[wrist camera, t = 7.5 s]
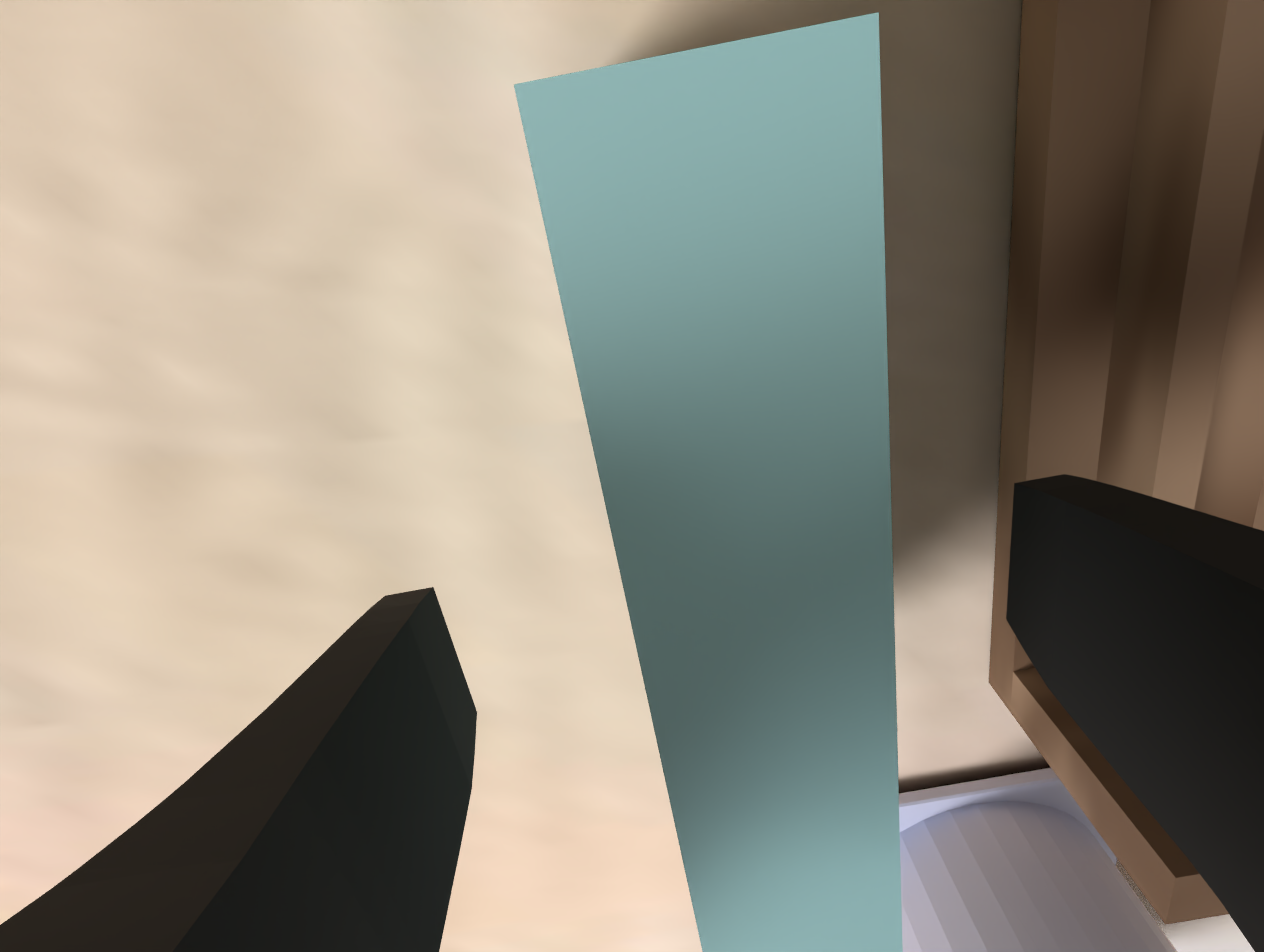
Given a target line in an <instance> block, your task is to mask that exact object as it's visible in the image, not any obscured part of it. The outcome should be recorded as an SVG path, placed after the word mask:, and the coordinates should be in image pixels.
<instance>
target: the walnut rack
mask: <svg viewBox="0 0 1264 952" xmlns="http://www.w3.org/2000/svg"><path fill="white" fill-rule="evenodd" d="M1062 474H1067V475H1072V476H1077V477H1082V478H1086V479H1090V480H1095V481H1099V482H1102V483H1106V484H1110V485H1113V486H1117V487H1120V488H1124V489H1127V490H1131V491H1134V492H1138V493H1141V494H1144V495H1148V496H1151V497H1154V498H1158V499H1161V500H1164V501H1167V502H1171V503H1174V504H1177V505H1180V506H1184V507H1187V508H1190V509H1193V510H1197V511H1200V512H1203V513H1206V514H1210V515H1213V516H1216V517H1219V518H1223V519H1226V520H1229V521H1233V522H1236V523H1239V524H1242V525H1246V526H1249V527H1252V528H1256V529H1259V530H1262V531H1264V0H1023V3H1022V23H1021V44H1020V64H1019V84H1018V104H1017V124H1016V144H1015V165H1014V185H1013V205H1012V225H1011V245H1010V266H1009V286H1008V306H1007V326H1006V346H1005V367H1004V387H1003V407H1002V427H1001V447H1000V467H999V488H998V508H997V528H996V548H995V568H994V589H993V609H992V629H991V649H990V669H989V683H990V685H991V686H992V687H993V689H994V690H995V692H996V693H997V694H998V696H999V697H1000V698H1001V700H1002V701H1003V702H1004V704H1005V705H1006V707H1007V708H1008V709H1009V711H1010V712H1011V713H1012V715H1013V716H1014V718H1015V719H1016V720H1017V722H1018V723H1019V724H1020V726H1021V727H1022V729H1023V730H1024V731H1025V733H1026V734H1027V735H1028V737H1029V738H1030V739H1031V741H1032V742H1033V744H1034V745H1035V746H1036V748H1037V749H1038V750H1039V752H1040V753H1041V755H1042V756H1043V757H1044V759H1045V760H1046V761H1047V763H1048V764H1049V766H1050V767H1051V768H1052V770H1053V771H1054V772H1055V774H1056V775H1057V777H1058V778H1059V779H1060V781H1061V782H1062V783H1063V785H1064V786H1065V787H1066V789H1067V790H1068V792H1069V793H1070V794H1071V796H1072V797H1073V798H1074V800H1075V801H1076V803H1077V804H1078V805H1079V807H1080V808H1081V809H1082V811H1083V812H1084V814H1085V815H1086V816H1087V818H1088V819H1089V820H1090V822H1091V823H1092V824H1093V826H1094V827H1095V829H1096V830H1097V831H1098V833H1099V834H1100V835H1101V837H1102V838H1103V840H1104V841H1105V842H1106V844H1107V845H1108V846H1109V848H1110V849H1111V851H1112V852H1113V853H1114V855H1115V856H1116V857H1117V859H1118V860H1119V861H1120V863H1121V864H1122V866H1123V867H1124V868H1125V870H1126V871H1127V872H1128V874H1129V875H1130V877H1131V878H1132V879H1133V881H1134V882H1135V883H1136V885H1137V886H1138V888H1139V889H1140V890H1141V892H1142V893H1143V894H1144V896H1145V897H1146V899H1147V900H1148V901H1149V903H1150V904H1151V905H1152V907H1153V908H1154V909H1155V911H1156V912H1157V914H1158V915H1159V916H1160V918H1161V919H1162V920H1163V922H1164V923H1165V924H1171V923H1177V922H1183V921H1189V920H1195V919H1201V918H1207V917H1213V916H1219V915H1225V914H1229V913H1228V911H1227V910H1226V909H1225V907H1224V906H1223V904H1222V903H1221V901H1220V900H1219V899H1218V897H1217V896H1216V895H1215V893H1214V892H1213V891H1212V889H1211V888H1210V887H1209V886H1208V884H1207V883H1206V882H1205V880H1204V879H1203V878H1202V876H1201V875H1200V874H1199V873H1198V871H1197V870H1196V869H1195V867H1194V866H1193V865H1192V863H1191V862H1190V861H1189V859H1188V858H1187V857H1186V856H1185V854H1184V853H1183V852H1182V851H1181V850H1180V848H1179V847H1178V846H1177V845H1176V844H1175V842H1174V841H1173V840H1172V839H1171V837H1170V836H1169V835H1168V834H1167V833H1166V831H1165V830H1164V829H1163V828H1162V827H1161V825H1160V824H1159V823H1158V822H1157V821H1156V819H1155V818H1154V817H1153V816H1152V815H1151V813H1150V812H1149V811H1148V810H1147V808H1146V807H1145V806H1144V805H1143V804H1142V802H1141V801H1140V800H1139V799H1138V798H1137V796H1136V795H1135V794H1134V793H1133V792H1132V790H1131V789H1130V788H1129V787H1128V786H1127V784H1126V783H1125V782H1124V781H1123V779H1122V778H1121V777H1120V776H1119V775H1118V773H1117V772H1116V771H1115V770H1114V769H1113V767H1112V766H1111V765H1110V764H1109V763H1108V761H1107V760H1106V759H1105V758H1104V757H1103V755H1102V754H1101V753H1100V752H1099V750H1098V749H1097V748H1096V747H1095V746H1094V744H1093V743H1092V742H1091V741H1090V740H1089V738H1088V737H1087V736H1086V735H1085V733H1084V732H1083V731H1082V730H1081V728H1080V727H1079V726H1078V725H1077V723H1076V722H1075V721H1074V720H1073V719H1072V717H1071V716H1070V715H1069V714H1068V712H1067V711H1066V710H1065V709H1064V707H1063V706H1062V705H1061V704H1060V702H1059V701H1058V700H1057V699H1056V697H1055V696H1054V695H1053V694H1052V692H1051V691H1050V690H1049V688H1048V687H1047V685H1046V684H1045V682H1044V681H1043V679H1042V678H1041V676H1040V674H1039V673H1038V671H1037V670H1036V668H1035V667H1034V665H1033V664H1032V662H1031V660H1030V659H1029V657H1028V656H1027V654H1026V652H1025V651H1024V649H1023V647H1022V646H1021V644H1020V642H1019V640H1018V639H1017V637H1016V635H1015V634H1014V632H1013V630H1012V629H1011V627H1010V625H1009V624H1008V622H1007V620H1006V612H1007V596H1008V579H1009V562H1010V546H1011V529H1012V512H1013V495H1014V483H1018V482H1023V481H1029V480H1034V479H1040V478H1045V477H1051V476H1057V475H1062Z"/></svg>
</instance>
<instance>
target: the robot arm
mask: <svg viewBox="0 0 1264 952" xmlns="http://www.w3.org/2000/svg"><path fill="white" fill-rule="evenodd" d="M1006 620H1007V622H1008V624H1009V625H1010V627H1011V629H1012V630H1013V632H1014V634H1015V635H1016V637H1017V639H1018V640H1019V642H1020V644H1021V646H1022V647H1023V649H1024V651H1025V652H1026V654H1027V656H1028V657H1029V659H1030V660H1031V662H1032V664H1033V665H1034V667H1035V668H1036V670H1037V671H1038V673H1039V674H1040V676H1041V678H1042V679H1043V681H1044V682H1045V684H1046V685H1047V687H1048V688H1049V690H1050V691H1051V692H1052V694H1053V695H1054V696H1055V697H1056V699H1057V700H1058V701H1059V702H1060V704H1061V705H1062V706H1063V707H1064V709H1065V710H1066V711H1067V712H1068V714H1069V715H1070V716H1071V717H1072V719H1073V720H1074V721H1075V722H1076V723H1077V725H1078V726H1079V727H1080V728H1081V730H1082V731H1083V732H1084V733H1085V735H1086V736H1087V737H1088V738H1089V740H1090V741H1091V742H1092V743H1093V744H1094V746H1095V747H1096V748H1097V749H1098V750H1099V752H1100V753H1101V754H1102V755H1103V757H1104V758H1105V759H1106V760H1107V761H1108V763H1109V764H1110V765H1111V766H1112V767H1113V769H1114V770H1115V771H1116V772H1117V773H1118V775H1119V776H1120V777H1121V778H1122V779H1123V781H1124V782H1125V783H1126V784H1127V786H1128V787H1129V788H1130V789H1131V790H1132V792H1133V793H1134V794H1135V795H1136V796H1137V798H1138V799H1139V800H1140V801H1141V802H1142V804H1143V805H1144V806H1145V807H1146V808H1147V810H1148V811H1149V812H1150V813H1151V815H1152V816H1153V817H1154V818H1155V819H1156V821H1157V822H1158V823H1159V824H1160V825H1161V827H1162V828H1163V829H1164V830H1165V831H1166V833H1167V834H1168V835H1169V836H1170V837H1171V839H1172V840H1173V841H1174V842H1175V844H1176V845H1177V846H1178V847H1179V848H1180V850H1181V851H1182V852H1183V853H1184V854H1185V856H1186V857H1187V858H1188V859H1189V861H1190V862H1191V863H1192V865H1193V866H1194V867H1195V869H1196V870H1197V871H1198V873H1199V874H1200V875H1201V876H1202V878H1203V879H1204V880H1205V882H1206V883H1207V884H1208V886H1209V887H1210V888H1211V889H1212V891H1213V892H1214V893H1215V895H1216V896H1217V897H1218V899H1219V900H1220V901H1221V903H1222V904H1223V906H1224V907H1225V909H1226V910H1227V911H1228V913H1229V914H1230V916H1231V917H1232V919H1233V920H1234V922H1235V923H1236V925H1237V926H1238V927H1239V929H1240V930H1241V932H1242V933H1243V935H1244V936H1245V938H1246V939H1247V941H1248V942H1249V943H1250V945H1251V946H1252V948H1253V949H1254V951H1255V952H1264V531H1262V530H1259V529H1256V528H1252V527H1249V526H1246V525H1242V524H1239V523H1236V522H1233V521H1229V520H1226V519H1223V518H1219V517H1216V516H1213V515H1210V514H1206V513H1203V512H1200V511H1197V510H1193V509H1190V508H1187V507H1184V506H1180V505H1177V504H1174V503H1171V502H1167V501H1164V500H1161V499H1158V498H1154V497H1151V496H1148V495H1144V494H1141V493H1138V492H1134V491H1131V490H1127V489H1124V488H1120V487H1117V486H1113V485H1110V484H1106V483H1102V482H1099V481H1095V480H1090V479H1086V478H1082V477H1077V476H1072V475H1067V474H1062V475H1057V476H1051V477H1045V478H1040V479H1034V480H1029V481H1023V482H1018V483H1014V495H1013V512H1012V529H1011V546H1010V562H1009V579H1008V596H1007V612H1006ZM476 719H477V711H476V708H475V705H474V702H473V700H472V697H471V694H470V691H469V688H468V685H467V682H466V680H465V677H464V674H463V671H462V668H461V665H460V662H459V660H458V657H457V654H456V651H455V648H454V645H453V642H452V639H451V637H450V634H449V631H448V628H447V625H446V622H445V619H444V617H443V614H442V611H441V608H440V605H439V602H438V599H437V597H436V594H435V591H434V588H433V587H432V588H426V589H420V590H415V591H409V592H404V593H398V594H393V595H387V596H384V597H383V598H382V599H381V600H380V601H378V602H377V603H376V604H375V605H374V606H372V607H371V608H370V609H369V610H368V611H367V612H366V613H365V614H364V615H363V616H361V617H360V618H359V619H358V620H357V621H356V622H355V623H354V624H353V625H352V626H351V627H350V628H349V629H348V630H347V631H346V632H345V633H344V634H343V635H342V636H341V637H340V638H339V639H338V640H337V641H336V642H335V643H334V644H333V645H331V646H330V647H329V648H328V649H327V650H326V651H325V652H324V653H323V654H322V655H321V656H320V657H319V658H318V659H317V660H316V661H315V662H314V663H313V664H312V665H311V666H310V667H309V668H308V669H307V670H306V671H305V672H304V673H303V674H302V675H301V676H300V677H299V678H298V679H297V680H296V681H295V682H294V683H293V684H291V685H290V686H289V687H288V688H287V689H286V690H285V691H284V692H283V693H282V694H281V695H280V696H279V697H278V698H277V699H276V700H275V701H274V702H273V703H272V704H271V705H270V706H269V707H268V708H267V709H266V710H265V711H264V712H262V713H261V714H260V715H259V716H258V717H257V718H256V719H255V720H254V721H252V722H251V723H250V724H249V725H248V726H247V727H246V728H245V729H244V730H243V731H241V732H240V733H239V734H238V735H237V736H236V737H235V738H234V739H233V740H231V741H230V742H229V743H228V744H227V745H226V746H225V747H224V748H223V749H221V750H220V751H219V752H218V753H217V754H216V755H215V756H214V757H213V758H211V759H210V760H209V761H208V762H207V763H206V764H205V765H204V766H203V767H202V768H200V769H199V770H198V771H197V772H196V773H195V774H194V775H193V776H192V777H190V778H189V779H188V780H187V781H186V782H185V783H184V784H183V785H181V786H180V787H179V788H178V789H177V790H175V791H174V792H173V793H172V794H171V795H170V796H168V797H167V798H166V799H165V800H164V801H162V802H161V803H160V804H159V805H158V806H156V807H155V808H154V809H153V810H152V811H150V812H149V813H148V814H147V815H145V816H144V817H143V818H142V819H141V820H139V821H138V822H137V823H136V824H134V825H133V826H132V827H131V828H129V829H128V830H127V831H126V832H124V833H123V834H122V835H120V836H119V837H118V838H117V839H115V840H114V841H113V842H112V843H110V844H109V845H108V846H106V847H105V848H104V849H103V850H101V851H100V852H99V853H98V854H96V855H95V856H94V857H92V858H91V859H90V860H89V861H87V862H86V863H85V864H83V865H82V866H81V867H80V868H78V869H77V870H76V871H74V872H73V873H72V874H70V875H69V876H68V877H66V878H65V879H64V880H62V881H61V882H60V883H58V884H57V885H56V886H54V887H53V888H52V889H50V890H49V891H48V892H46V893H45V894H43V895H42V896H41V897H39V898H38V899H36V900H35V901H34V902H32V903H31V904H29V905H28V906H26V907H25V908H24V909H22V910H21V911H19V912H18V913H17V914H15V915H14V916H12V917H11V918H10V919H8V920H7V921H5V922H4V923H2V924H1V925H0V952H439V949H440V944H441V939H442V934H443V929H444V925H445V920H446V915H447V910H448V905H449V900H450V895H451V890H452V885H453V881H454V876H455V871H456V866H457V861H458V856H459V851H460V846H461V841H462V836H463V831H464V826H465V821H466V816H467V810H468V805H469V800H470V794H471V789H472V778H473V766H474V754H475V736H476ZM899 827H900V866H901V905H902V944H903V952H1177V951H1176V949H1175V948H1174V946H1173V945H1172V944H1171V942H1170V941H1169V939H1168V938H1167V937H1166V935H1165V934H1164V932H1163V931H1162V930H1161V928H1160V927H1159V926H1158V924H1157V923H1156V921H1155V920H1154V919H1153V917H1152V916H1151V914H1150V913H1149V912H1148V910H1147V909H1146V907H1145V906H1144V905H1143V903H1142V902H1141V900H1140V899H1139V898H1138V896H1137V895H1136V894H1135V892H1134V891H1133V889H1132V888H1131V887H1130V885H1129V884H1128V882H1127V881H1126V880H1125V878H1124V877H1123V875H1122V874H1121V873H1120V871H1119V870H1118V869H1117V867H1116V862H1117V857H1116V856H1115V855H1114V853H1113V852H1112V851H1111V849H1110V848H1109V846H1108V845H1107V844H1106V842H1105V841H1104V840H1103V838H1102V837H1101V835H1100V834H1099V833H1098V831H1097V830H1096V829H1095V827H1094V826H1093V824H1092V823H1091V822H1090V820H1089V819H1088V818H1087V816H1086V815H1085V814H1084V812H1083V811H1082V809H1081V808H1080V807H1079V805H1078V804H1077V803H1076V801H1075V800H1074V798H1073V797H1072V796H1071V794H1070V793H1069V792H1068V790H1067V789H1066V787H1065V786H1064V785H1063V783H1062V782H1061V781H1060V779H1059V778H1058V777H1057V775H1056V774H1055V772H1054V771H1053V770H1052V768H1046V769H1040V770H1034V771H1028V772H1022V773H1016V774H1011V775H1005V776H999V777H993V778H987V779H981V780H975V781H969V782H964V783H958V784H952V785H946V786H940V787H934V788H928V789H922V790H917V791H911V792H905V793H899Z"/></svg>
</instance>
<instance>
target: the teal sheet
mask: <svg viewBox="0 0 1264 952" xmlns="http://www.w3.org/2000/svg"><path fill="white" fill-rule="evenodd" d="M514 88H515V92H516V97H517V101H518V106H519V110H520V115H521V120H522V124H523V129H524V133H525V138H526V143H527V147H528V152H529V156H530V161H531V166H532V170H533V175H534V179H535V184H536V189H537V193H538V198H539V202H540V207H541V211H542V216H543V221H544V225H545V230H546V234H547V239H548V244H549V248H550V253H551V257H552V262H553V267H554V271H555V276H556V280H557V285H558V290H559V294H560V299H561V303H562V308H563V312H564V317H565V322H566V326H567V331H568V335H569V340H570V345H571V349H572V354H573V358H574V363H575V368H576V372H577V377H578V381H579V386H580V391H581V395H582V400H583V404H584V409H585V413H586V418H587V423H588V427H589V432H590V436H591V441H592V446H593V450H594V455H595V459H596V464H597V469H598V473H599V478H600V482H601V487H602V491H603V496H604V501H605V505H606V510H607V514H608V519H609V524H610V528H611V533H612V537H613V542H614V547H615V551H616V556H617V560H618V565H619V570H620V574H621V579H622V583H623V588H624V592H625V597H626V602H627V606H628V611H629V615H630V620H631V625H632V629H633V634H634V638H635V643H636V648H637V652H638V657H639V661H640V666H641V671H642V675H643V680H644V684H645V689H646V693H647V698H648V703H649V707H650V712H651V716H652V721H653V726H654V730H655V735H656V739H657V744H658V749H659V753H660V758H661V762H662V767H663V772H664V776H665V781H666V785H667V790H668V794H669V799H670V804H671V808H672V813H673V817H674V822H675V827H676V831H677V836H678V840H679V845H680V850H681V854H682V859H683V863H684V868H685V873H686V877H687V882H688V886H689V891H690V895H691V900H692V905H693V909H694V914H695V918H696V923H697V928H698V932H699V937H700V941H701V946H702V951H703V952H903V944H902V905H901V866H900V827H899V788H898V749H897V709H896V670H895V631H894V592H893V553H892V514H891V474H890V435H889V396H888V357H887V318H886V279H885V240H884V200H883V161H882V122H881V83H880V44H879V12H877V13H872V14H867V15H862V16H857V17H852V18H847V19H842V20H837V21H832V22H827V23H822V24H817V25H812V26H807V27H802V28H797V29H792V30H787V31H782V32H777V33H771V34H766V35H761V36H756V37H751V38H746V39H741V40H736V41H731V42H726V43H721V44H716V45H711V46H706V47H701V48H696V49H691V50H686V51H681V52H676V53H671V54H666V55H661V56H655V57H650V58H645V59H640V60H635V61H630V62H625V63H620V64H615V65H610V66H605V67H600V68H595V69H590V70H585V71H580V72H575V73H570V74H565V75H560V76H555V77H550V78H545V79H540V80H534V81H529V82H524V83H519V84H514Z"/></svg>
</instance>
